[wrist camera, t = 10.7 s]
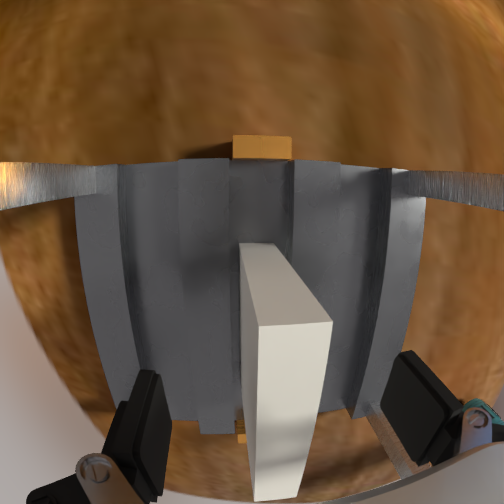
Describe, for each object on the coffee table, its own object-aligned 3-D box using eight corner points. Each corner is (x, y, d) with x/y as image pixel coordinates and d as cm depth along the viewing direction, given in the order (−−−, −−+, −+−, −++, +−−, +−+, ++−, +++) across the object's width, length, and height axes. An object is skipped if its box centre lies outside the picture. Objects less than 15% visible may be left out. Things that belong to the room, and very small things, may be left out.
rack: (90, 151, 15) (-101, 132, 2) (407, 155, 17) (589, 159, 4) (133, 419, 21) (98, 555, 7) (367, 405, 22) (435, 520, 9)
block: (239, 243, 17) (258, 326, 7) (273, 242, 17) (333, 321, 7) (240, 381, 19) (254, 501, 10) (268, 380, 20) (296, 496, 10)
